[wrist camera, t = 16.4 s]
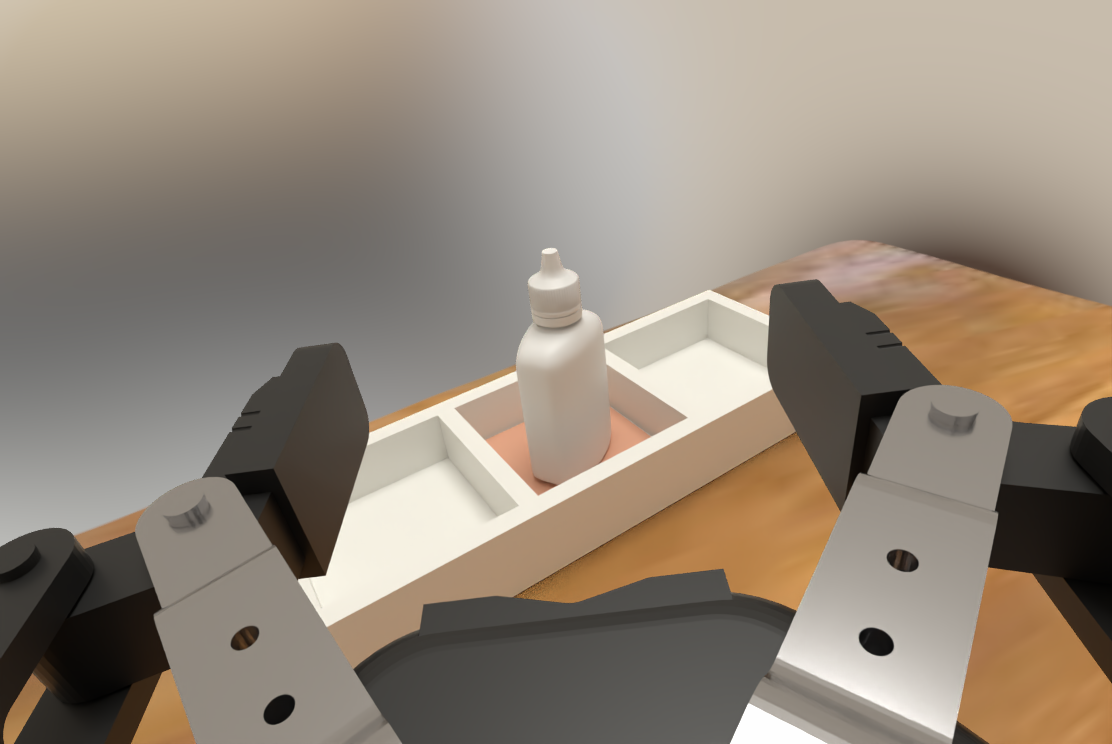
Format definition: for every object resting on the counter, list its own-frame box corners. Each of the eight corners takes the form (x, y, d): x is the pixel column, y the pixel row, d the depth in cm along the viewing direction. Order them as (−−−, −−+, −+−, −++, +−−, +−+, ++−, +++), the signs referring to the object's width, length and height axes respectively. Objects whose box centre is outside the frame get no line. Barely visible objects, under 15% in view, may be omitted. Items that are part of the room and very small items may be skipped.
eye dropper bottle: (511, 455, 37) (473, 255, 30) (593, 417, 39) (575, 222, 33) (550, 499, 33) (518, 284, 27) (639, 454, 36) (628, 246, 29)
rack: (707, 340, 47) (708, 289, 45) (838, 406, 39) (846, 349, 37) (273, 541, 35) (246, 484, 33) (332, 702, 27) (301, 640, 24)
